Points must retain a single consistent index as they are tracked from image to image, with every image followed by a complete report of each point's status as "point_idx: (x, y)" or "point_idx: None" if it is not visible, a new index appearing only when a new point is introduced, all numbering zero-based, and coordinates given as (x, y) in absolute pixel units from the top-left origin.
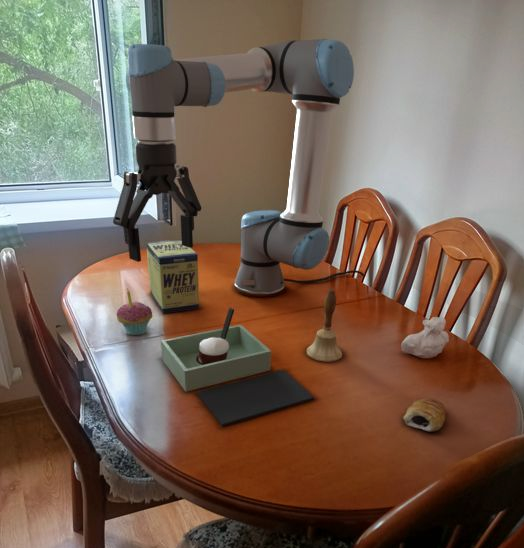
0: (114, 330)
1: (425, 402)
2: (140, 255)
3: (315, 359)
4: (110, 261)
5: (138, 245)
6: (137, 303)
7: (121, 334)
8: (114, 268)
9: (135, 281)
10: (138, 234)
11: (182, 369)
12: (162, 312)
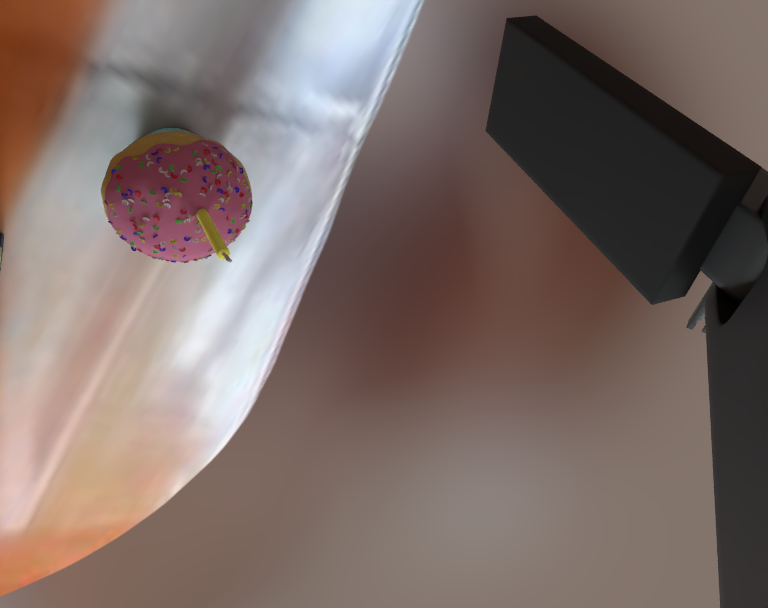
0: None
1: None
2: (534, 38)
3: None
4: (28, 577)
5: (605, 75)
6: (160, 233)
7: None
8: (35, 543)
9: (2, 470)
10: (670, 134)
11: None
12: (3, 239)
